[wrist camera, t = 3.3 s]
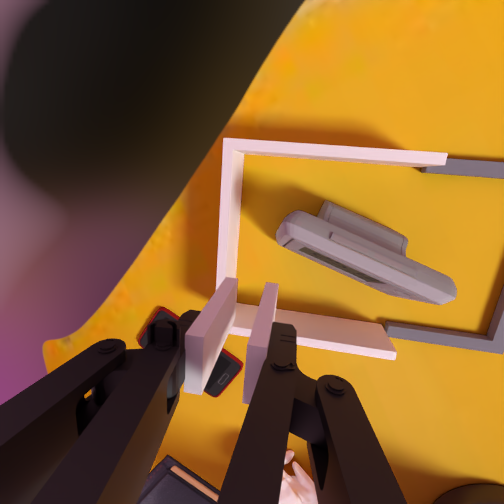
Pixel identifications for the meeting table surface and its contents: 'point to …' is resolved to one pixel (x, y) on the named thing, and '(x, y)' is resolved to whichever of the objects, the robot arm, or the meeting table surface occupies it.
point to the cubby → (307, 325)
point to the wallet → (176, 486)
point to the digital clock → (363, 253)
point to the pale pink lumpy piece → (297, 485)
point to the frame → (500, 330)
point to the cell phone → (223, 368)
